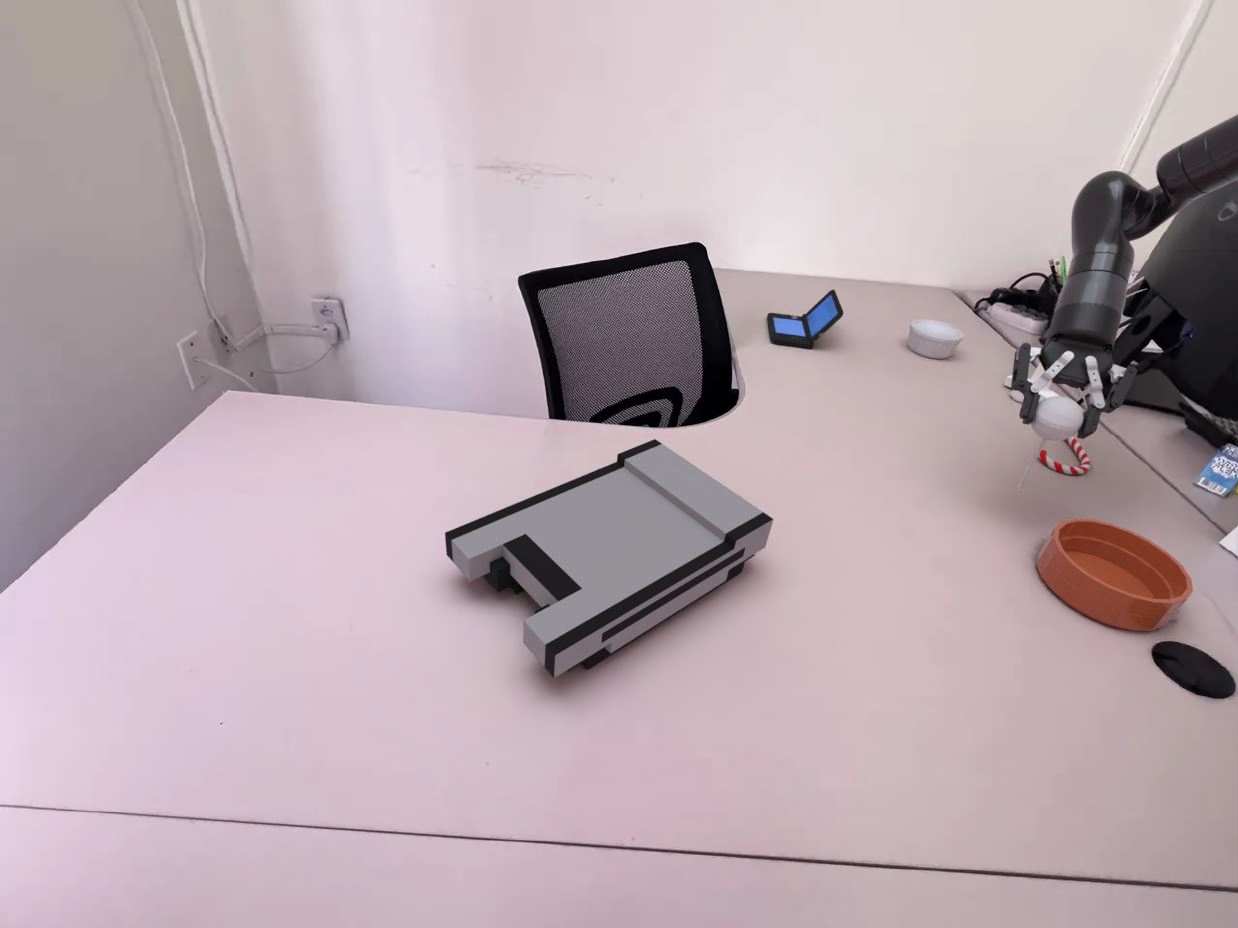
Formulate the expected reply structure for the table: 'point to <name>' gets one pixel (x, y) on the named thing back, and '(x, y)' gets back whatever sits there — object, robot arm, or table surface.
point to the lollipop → (1054, 423)
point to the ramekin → (933, 338)
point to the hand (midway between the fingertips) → (1055, 429)
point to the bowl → (1113, 574)
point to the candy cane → (1063, 468)
